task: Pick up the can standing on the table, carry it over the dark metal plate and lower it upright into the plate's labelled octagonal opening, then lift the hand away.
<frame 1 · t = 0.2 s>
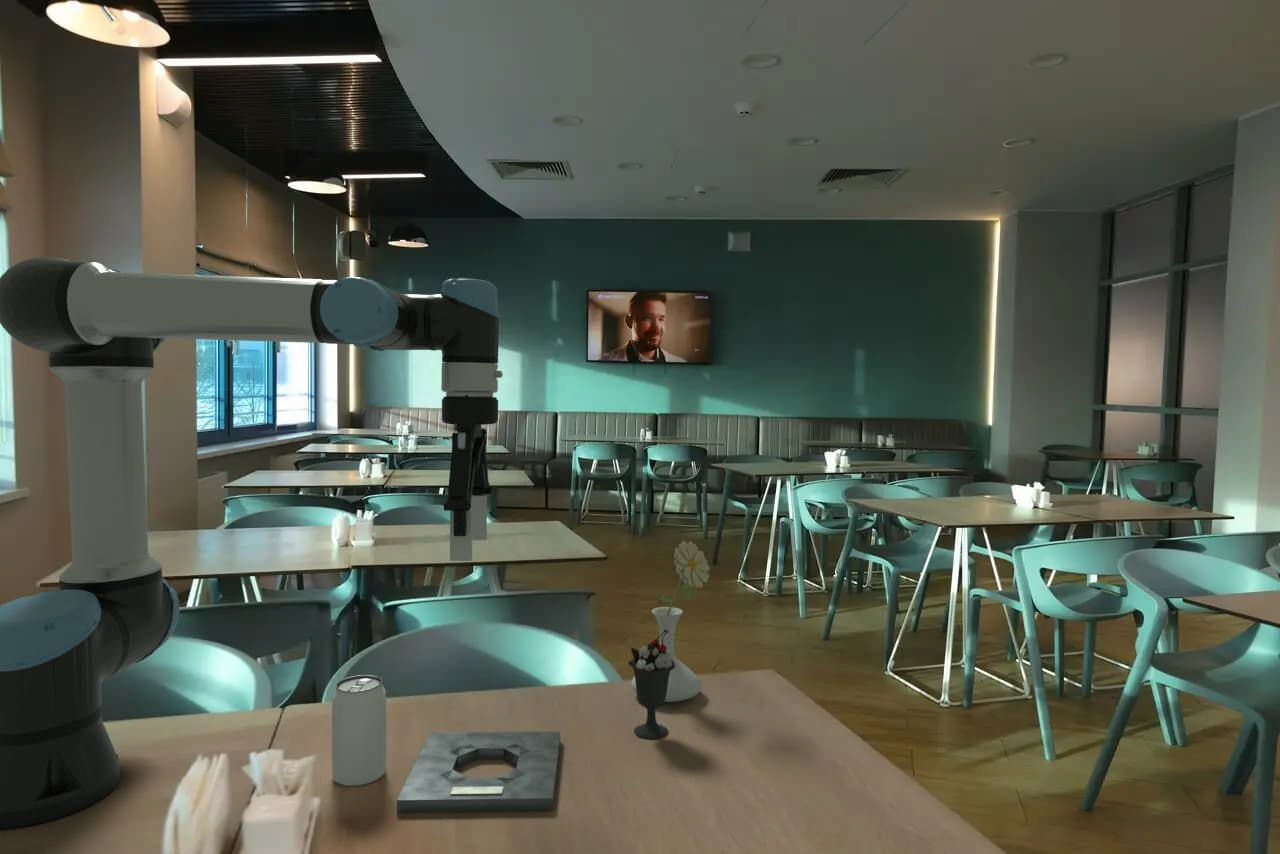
hand: (469, 549, 108), 27 cm above the table, tool pointing down, fingers open, 13 cm apart
sundae: (651, 733, 114), on the table
can: (359, 777, 100), on the table
flower in vase: (670, 695, 128), on the table
socket plate: (486, 773, 101), on the table
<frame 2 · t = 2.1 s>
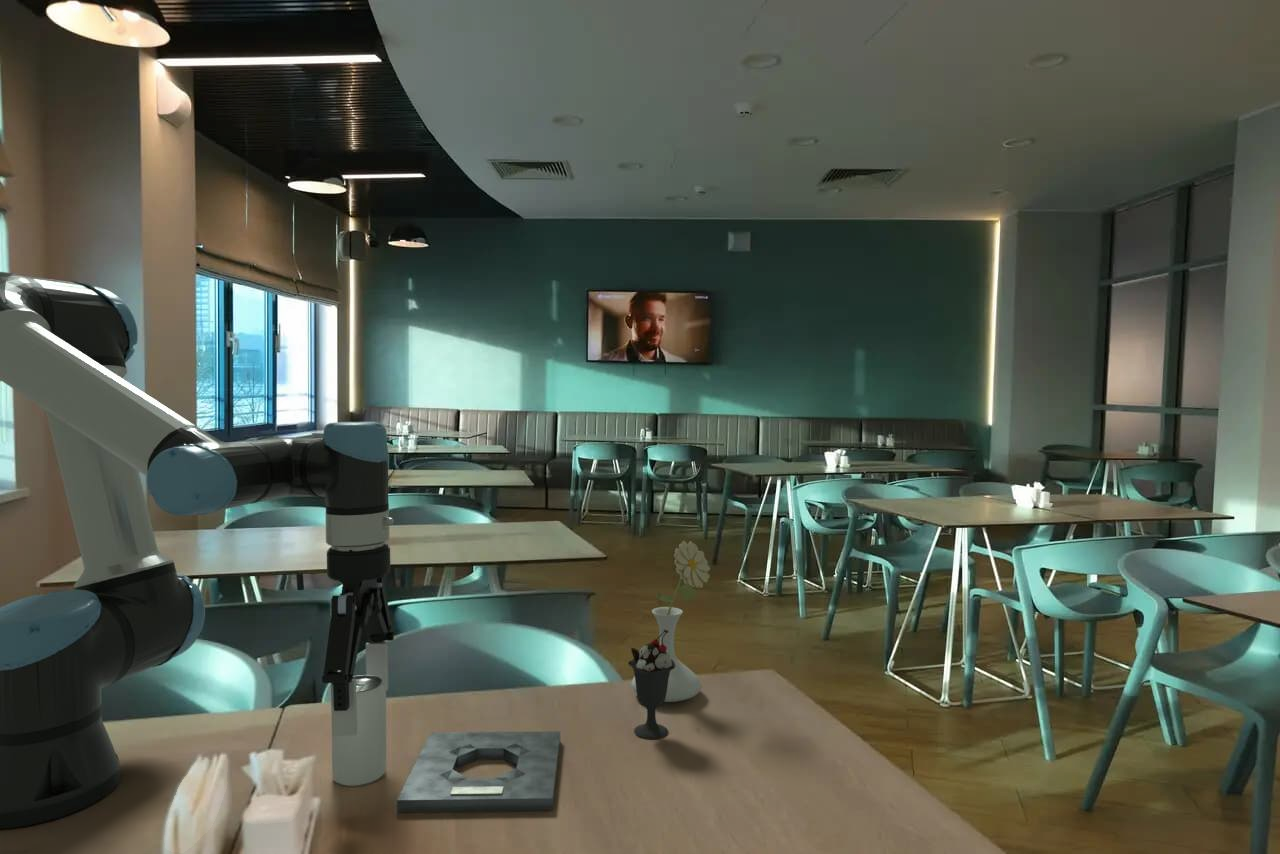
hand: (362, 711, 100), 8 cm above the table, tool pointing down, fingers open, 13 cm apart
nothing on the table moved.
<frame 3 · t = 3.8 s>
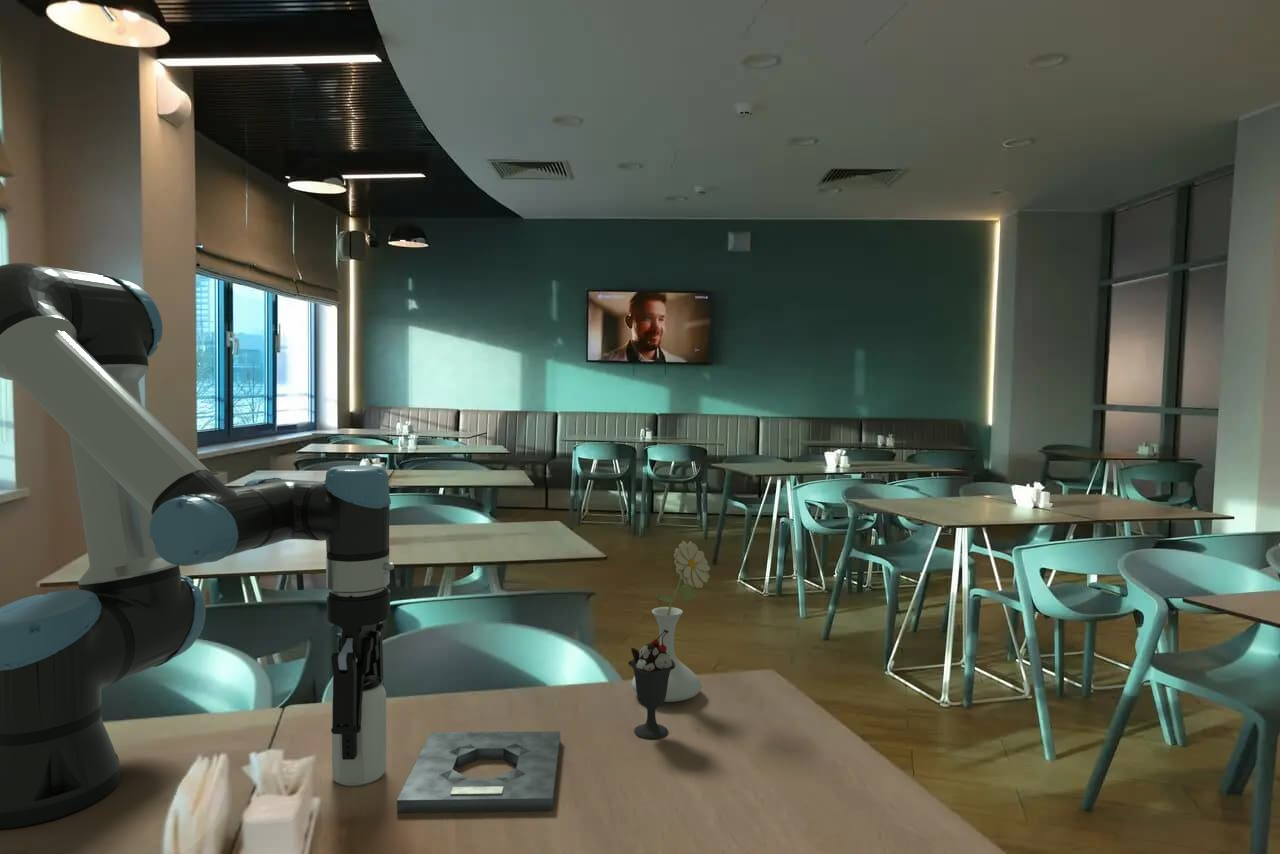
hand: (360, 767, 100), 1 cm above the table, tool pointing down, fingers closed on can, 6 cm apart
can: (359, 776, 100), on the table, touching gripper
everything else where it was.
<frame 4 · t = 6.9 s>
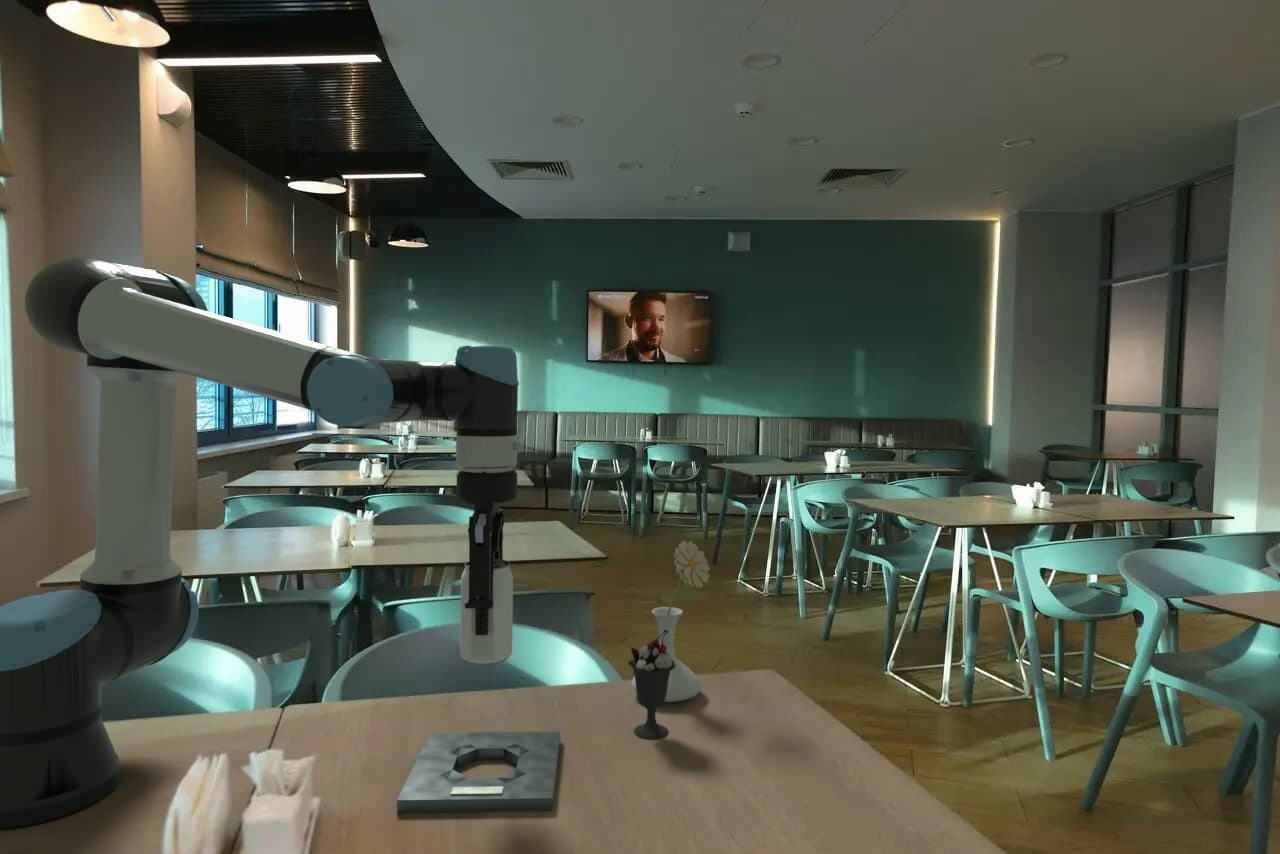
hand: (486, 649, 100), 16 cm above the table, tool pointing down, fingers closed on can, 6 cm apart
can: (486, 658, 100), point 15 cm above the table, touching gripper
everything else where it was.
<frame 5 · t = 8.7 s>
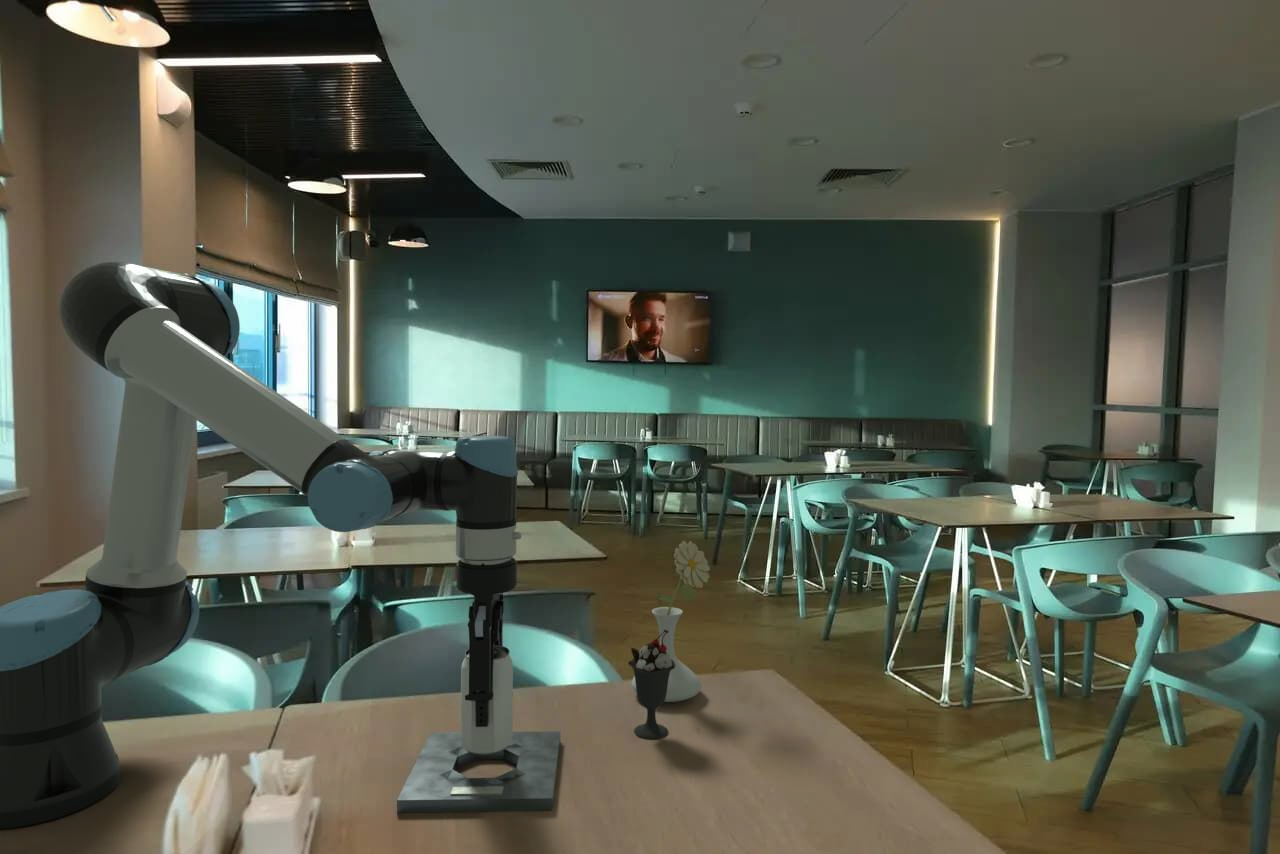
hand: (486, 736, 101), 5 cm above the table, tool pointing down, fingers closed on can, 6 cm apart
can: (486, 745, 101), point 4 cm above the table, touching gripper
everything else where it was.
when the fingers open (3 cm above the table, at t = 9.9 s): can drops 2 cm, resting in socket plate.
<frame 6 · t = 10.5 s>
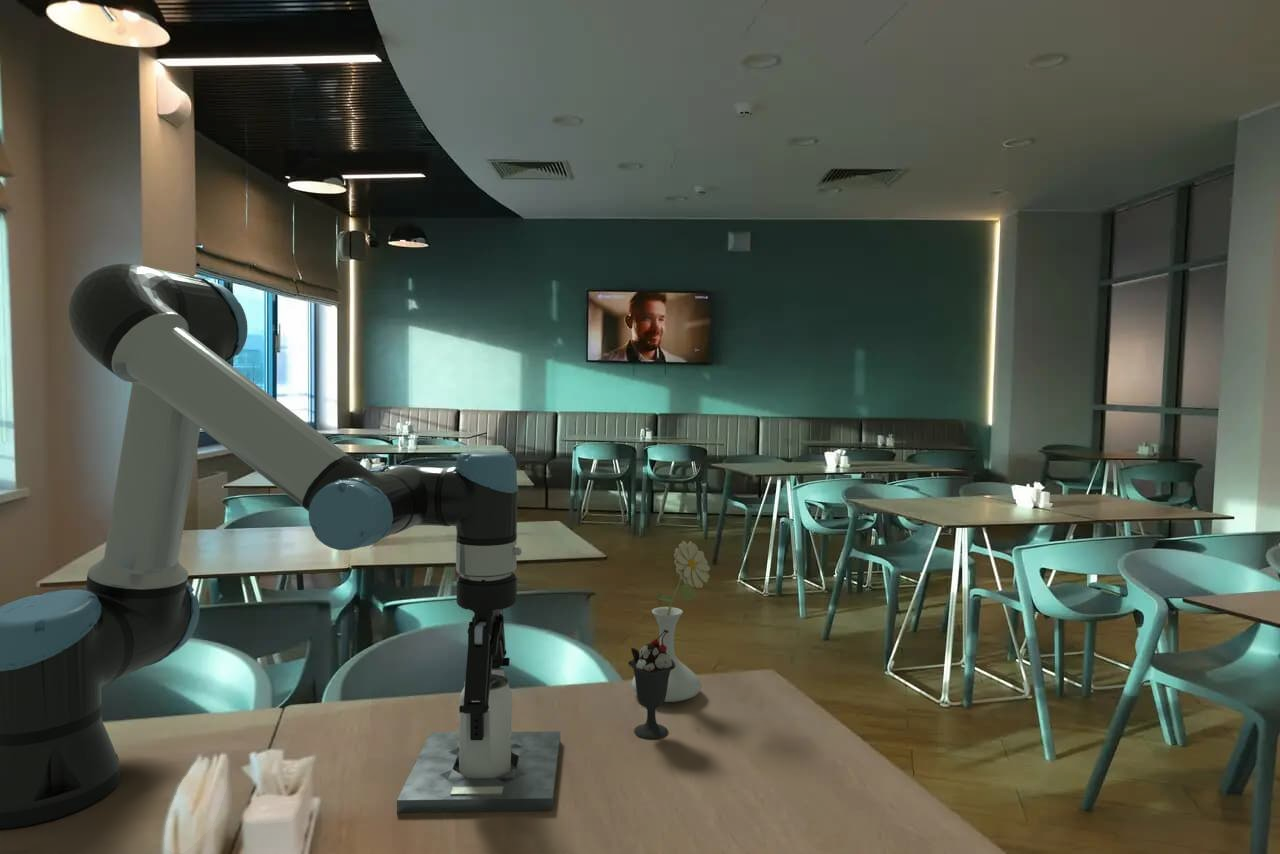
hand: (486, 738, 101), 5 cm above the table, tool pointing down, fingers open, 13 cm apart
can: (485, 775, 101), resting in socket plate
everything else where it was.
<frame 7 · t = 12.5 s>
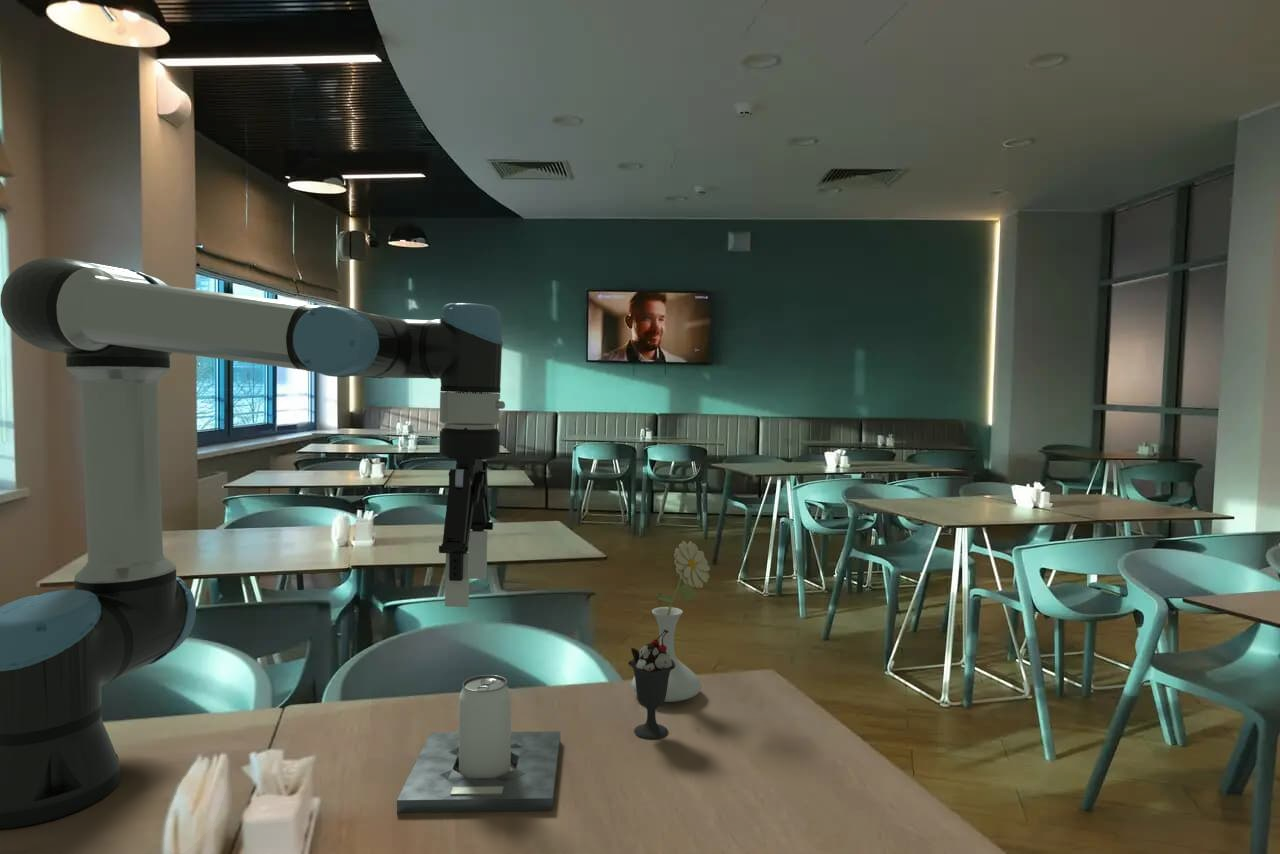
hand: (467, 591, 101), 23 cm above the table, tool pointing down, fingers open, 13 cm apart
nothing on the table moved.
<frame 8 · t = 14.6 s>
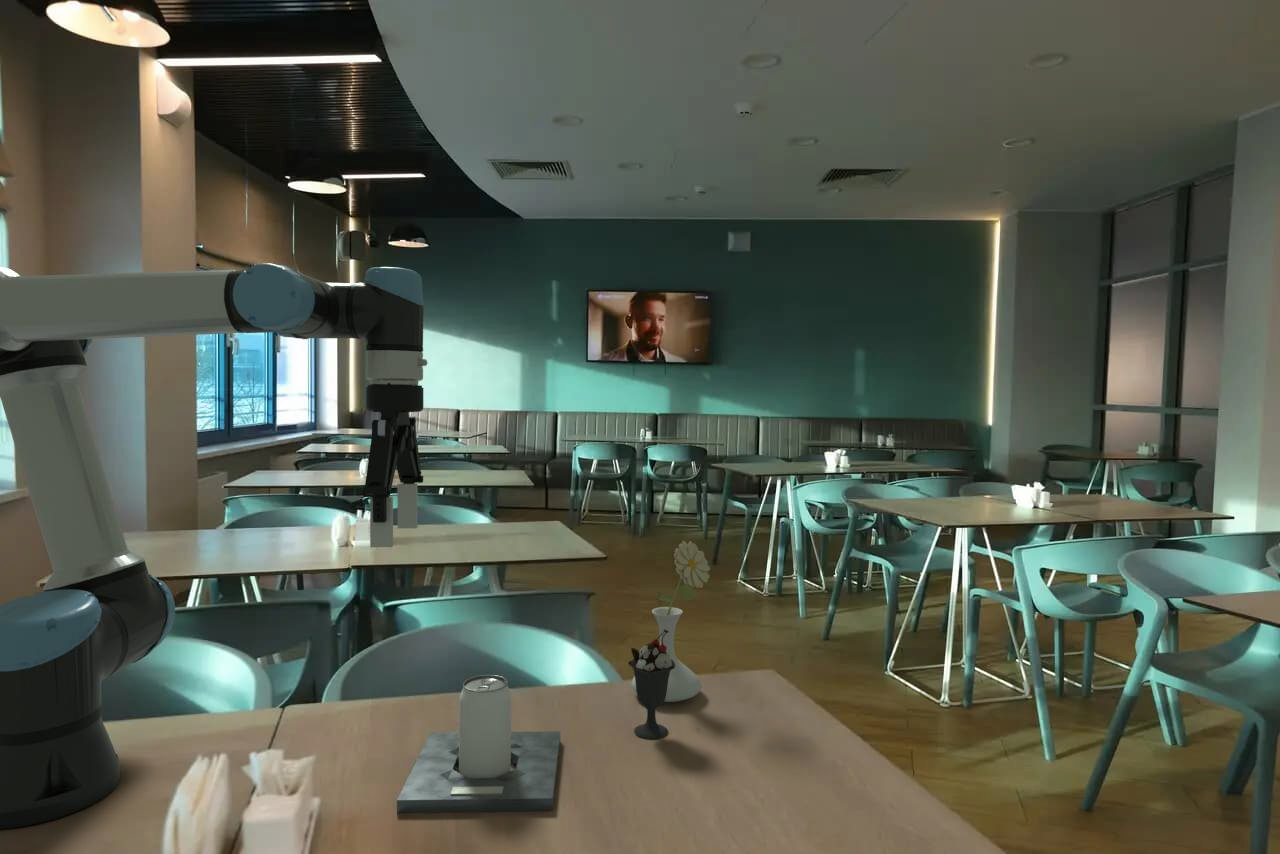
hand: (395, 537, 109), 29 cm above the table, tool pointing down, fingers open, 13 cm apart
nothing on the table moved.
at the end: can 0.2 cm off-centre on the socket plate, point 0.0 cm above the socket plate's base; can tilted 0°; the gripper is holding nothing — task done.
